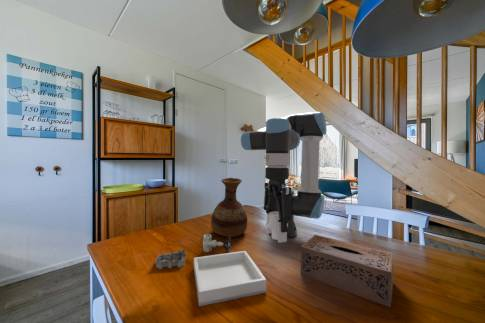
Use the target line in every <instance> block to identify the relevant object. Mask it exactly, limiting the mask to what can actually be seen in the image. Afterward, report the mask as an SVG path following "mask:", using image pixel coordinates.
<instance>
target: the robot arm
mask: <svg viewBox="0 0 485 323" xmlns="http://www.w3.org/2000/svg"><path fill="white" fill-rule="evenodd" d="M326 134H327V123H326V118H325V115H324V113H323V112H322V111H313V112H304V113H295V114H293V113H292V114H290V115H286V116H284V117H273V118H269V119H267V120H266V122H265V126H264V127H262V128H259V129H256V130H253V131H251V130H250V131H245V132H243V133H242V134H241V136H240V144H241V147H242V149H243V150H245V151H252V152H253V151H265V156H264V159H265V166H267V167H265V168H264V173H265V175H264V178H265V179H266V180H268V182H264V197H263V198H264V199H263V200H264V201H263V210H264V211H265V213H266V222H268V221H269V213H270V212H278V213H279V219H280V220H278V240H277V243H279V244H280V243H287V242H288V241H287V240H288V238H293V237H296V236H297V234H298V229H297V227H296V222H295V219H294V218H295V217H301V218H302V217H303V218H309V219H315V220H318V219H320V218H321V217H322V214H323V211H324V208H325V207H324V206H325V196H324V195H322V191H321V190H320V189H319V172H320V171H319V168H320V142H321V141H322V140H323V138H324V135H326ZM300 143H301V167H300V170H301V171H300V187H299V188H298V189H297V192H295V190H294V189H292V187H288V186H287V185H286V180H289V179H290V178H289V177H290V174H289V173H290V169H289V166H290V151H292V150H296V149H297V148H298V147H299V145H300ZM287 223H288V227H287ZM271 233H272V229H270V228H269V227H267V226H266V234H268V235H271V236H272V234H271Z"/></svg>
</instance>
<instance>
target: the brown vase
mask: <svg viewBox="0 0 485 323" xmlns="http://www.w3.org/2000/svg"><path fill="white" fill-rule="evenodd" d="M221 182H222V183H223V185H224V187H225V188H224V190H225V191H224V198H223V200H221V201H220V202H219V203H218V204H217V205H216V207H215V208H214V210H213V212H212V215H211V218H210V227H211V229H212V231H213V232H214V233H216V234H218V235H220V236H223V237H226V238H227V237H231V238H232V237H233V238H234V237H238V236H240V235H242V234H244V233H245V232H246V231H247V228H248V215H247V212H246V210H245V207H244V206H243V205H242V203H241V202H240V201H238V199H237V189H238V187H239V186H240V184H241V183H242V182H243V180H242V179H240V178H236V177H235V178H234V177H227V178H222V179H221Z"/></svg>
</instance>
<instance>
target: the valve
mask: <svg viewBox="0 0 485 323" xmlns="http://www.w3.org/2000/svg"><path fill="white" fill-rule="evenodd" d="M212 238H213V237H212V234H209V233H208V234H204V235H203V238H202V240H203V241H202V247H203V248H202V249H203V250H202V251H203V252H204V253H210V252H212V251H213V250H212V249H213V248H216V247H217V246H218V247H222V246H223V248H224V249H225V253H231V248H232V247H231V244H232V241H231V239H232V237H227V236H226V240H225V241H224V242H222V241H217V240H216V239H213V240H212Z"/></svg>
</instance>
